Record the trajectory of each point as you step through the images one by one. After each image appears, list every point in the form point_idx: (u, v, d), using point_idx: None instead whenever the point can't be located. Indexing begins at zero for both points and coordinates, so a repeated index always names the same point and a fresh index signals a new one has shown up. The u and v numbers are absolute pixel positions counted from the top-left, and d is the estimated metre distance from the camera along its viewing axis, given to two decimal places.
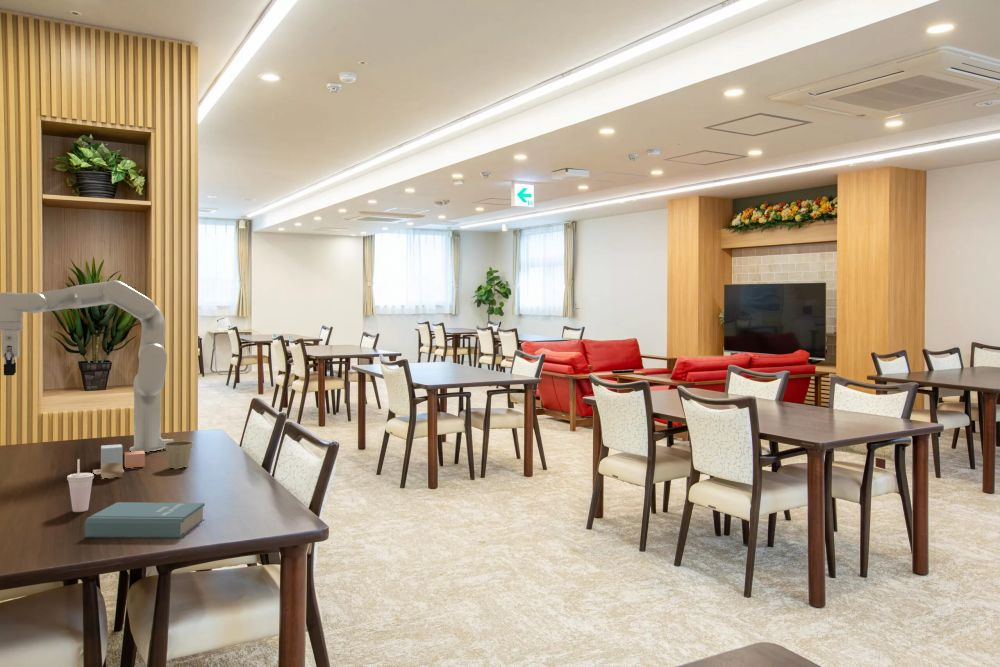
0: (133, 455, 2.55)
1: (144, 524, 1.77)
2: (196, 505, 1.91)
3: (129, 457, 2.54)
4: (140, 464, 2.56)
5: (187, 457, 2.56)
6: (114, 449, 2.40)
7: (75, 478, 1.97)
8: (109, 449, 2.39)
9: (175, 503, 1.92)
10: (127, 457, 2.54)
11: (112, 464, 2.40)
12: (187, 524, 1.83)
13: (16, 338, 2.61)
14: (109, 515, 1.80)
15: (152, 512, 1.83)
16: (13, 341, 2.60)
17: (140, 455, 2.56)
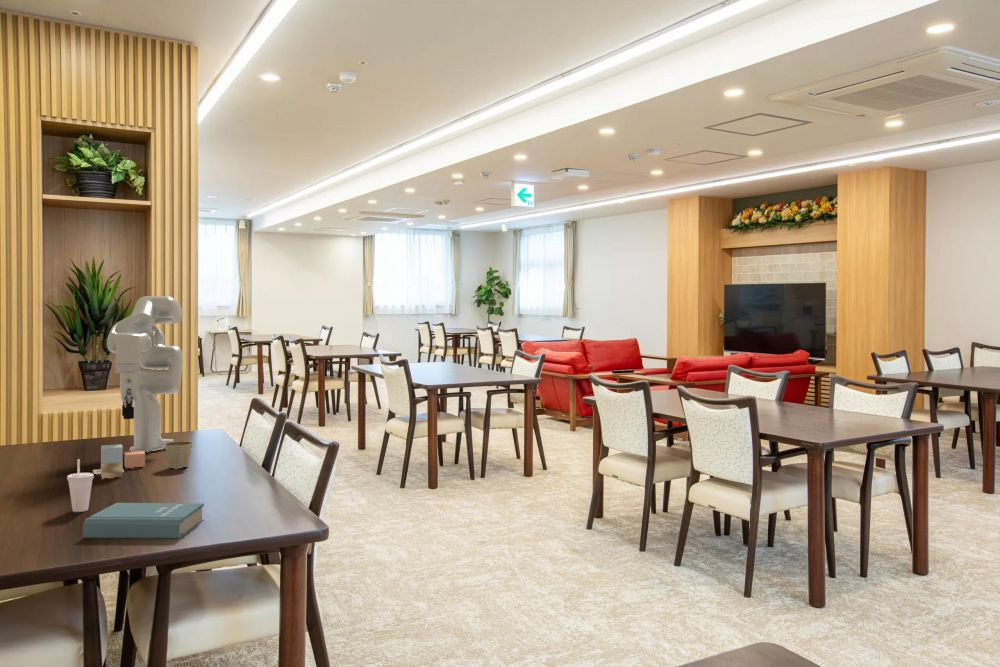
0: (133, 455, 2.55)
1: (143, 525, 1.76)
2: (195, 505, 1.90)
3: (129, 457, 2.54)
4: (140, 464, 2.56)
5: (187, 457, 2.56)
6: (114, 449, 2.40)
7: (75, 478, 1.97)
8: (109, 449, 2.39)
9: (174, 503, 1.92)
10: (127, 457, 2.54)
11: (112, 464, 2.40)
12: (187, 525, 1.82)
13: (135, 381, 2.54)
14: (108, 516, 1.79)
15: (151, 513, 1.83)
16: (133, 384, 2.54)
17: (140, 455, 2.56)
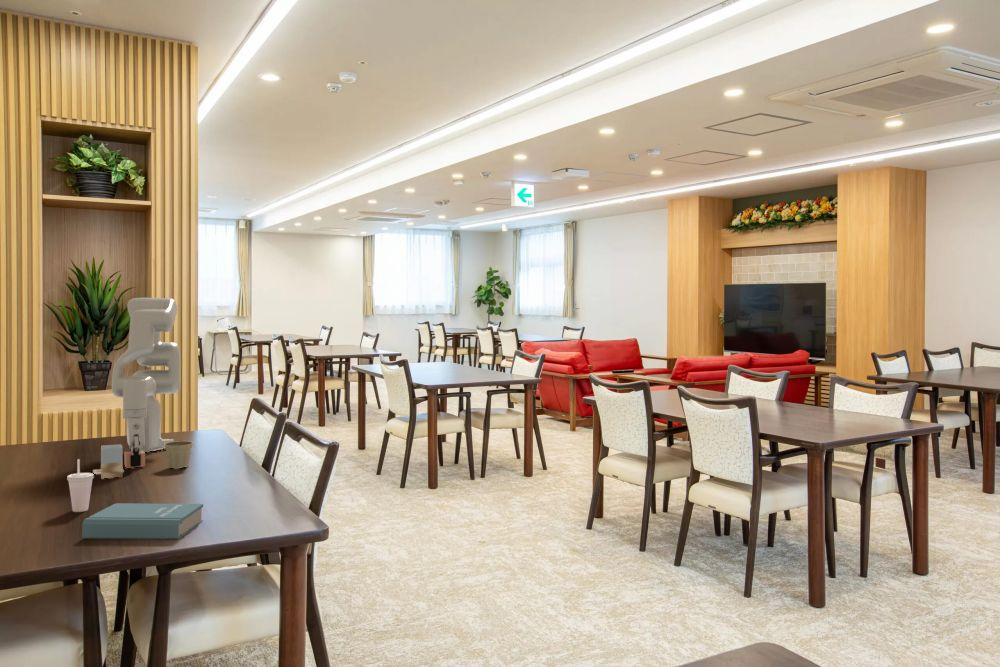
0: None
1: (142, 526, 1.76)
2: (195, 506, 1.89)
3: (129, 457, 2.54)
4: None
5: (187, 457, 2.56)
6: (114, 449, 2.40)
7: (75, 478, 1.97)
8: (109, 449, 2.39)
9: (174, 504, 1.91)
10: (127, 457, 2.54)
11: (112, 464, 2.40)
12: (186, 526, 1.82)
13: (143, 426, 2.55)
14: (107, 516, 1.79)
15: (150, 513, 1.82)
16: (140, 429, 2.54)
17: None
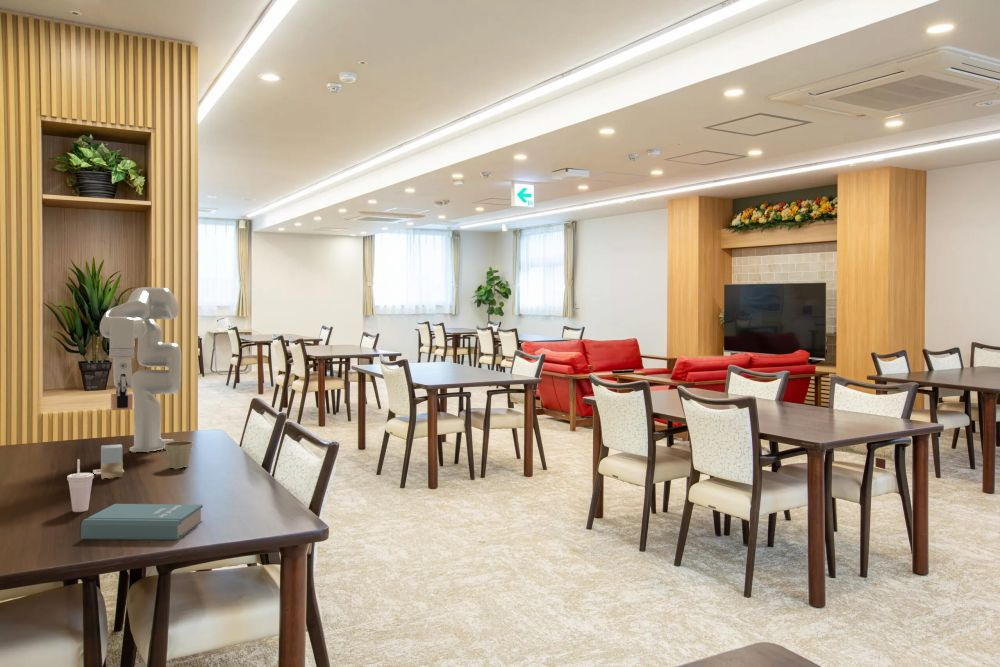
0: None
1: (141, 526, 1.75)
2: (194, 507, 1.89)
3: (115, 398, 2.44)
4: None
5: (187, 457, 2.56)
6: (114, 449, 2.40)
7: (75, 478, 1.97)
8: (109, 449, 2.39)
9: (173, 505, 1.91)
10: (114, 397, 2.44)
11: (112, 464, 2.40)
12: (185, 526, 1.81)
13: (130, 366, 2.45)
14: (106, 517, 1.78)
15: (149, 514, 1.82)
16: (127, 369, 2.44)
17: None
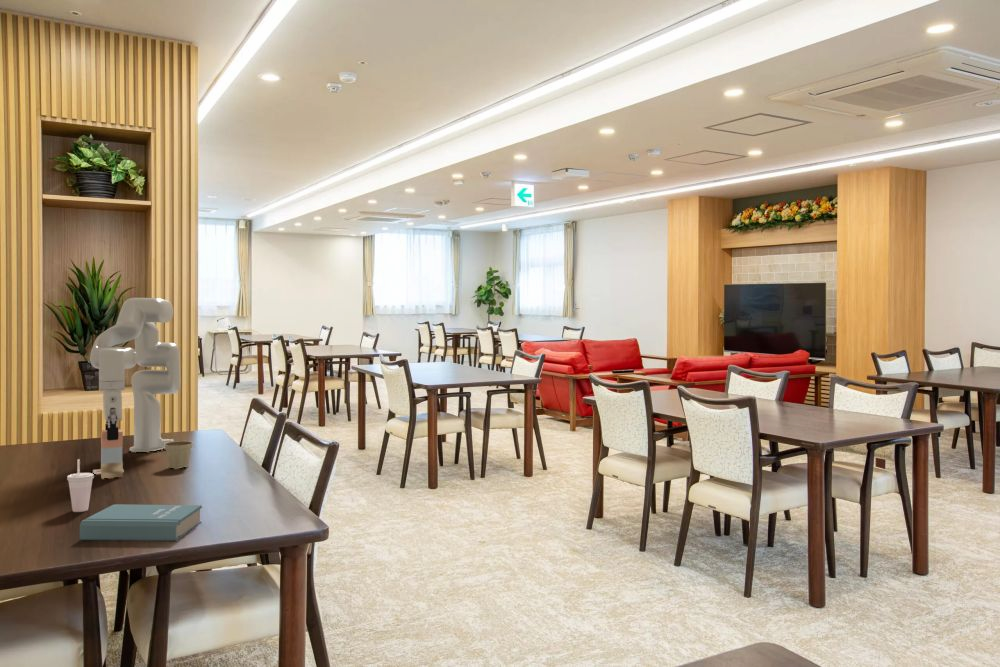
0: None
1: (139, 527, 1.75)
2: (193, 507, 1.88)
3: (105, 436, 2.38)
4: (117, 443, 2.40)
5: (187, 457, 2.56)
6: (114, 449, 2.40)
7: (75, 478, 1.97)
8: (109, 449, 2.39)
9: (172, 505, 1.90)
10: (103, 435, 2.38)
11: (112, 464, 2.40)
12: (184, 527, 1.80)
13: (120, 399, 2.39)
14: (105, 517, 1.78)
15: (148, 514, 1.81)
16: (117, 402, 2.38)
17: None
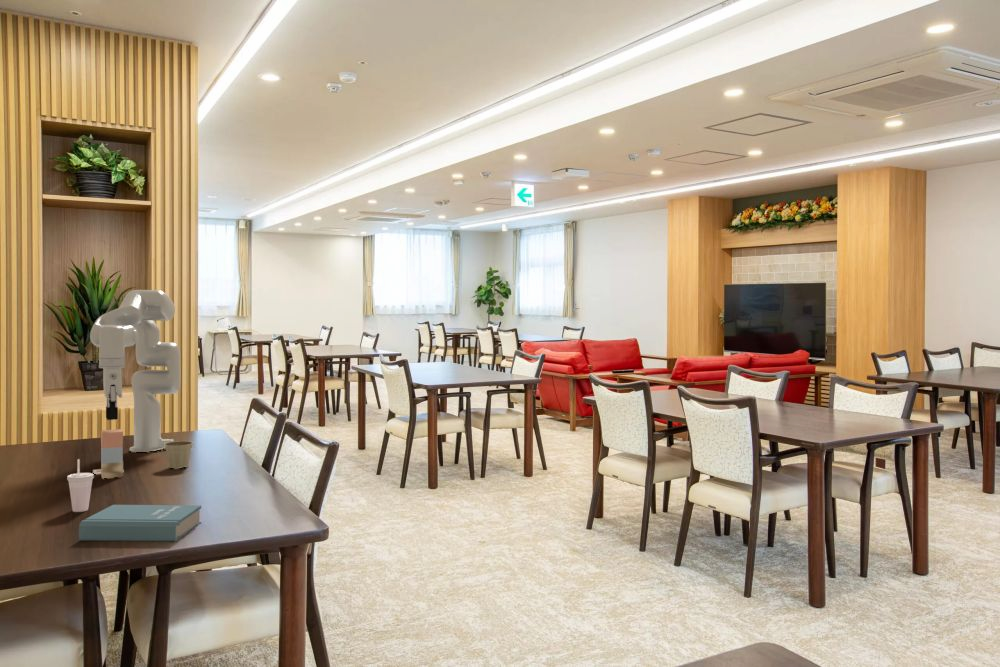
0: (110, 433, 2.39)
1: (139, 528, 1.74)
2: (192, 508, 1.88)
3: (105, 436, 2.38)
4: (117, 443, 2.40)
5: (187, 457, 2.56)
6: (114, 449, 2.40)
7: (75, 478, 1.97)
8: (109, 449, 2.39)
9: (171, 505, 1.89)
10: (103, 435, 2.38)
11: (112, 464, 2.40)
12: (183, 528, 1.80)
13: (120, 376, 2.39)
14: (104, 518, 1.77)
15: (147, 515, 1.81)
16: (117, 379, 2.38)
17: (117, 433, 2.40)
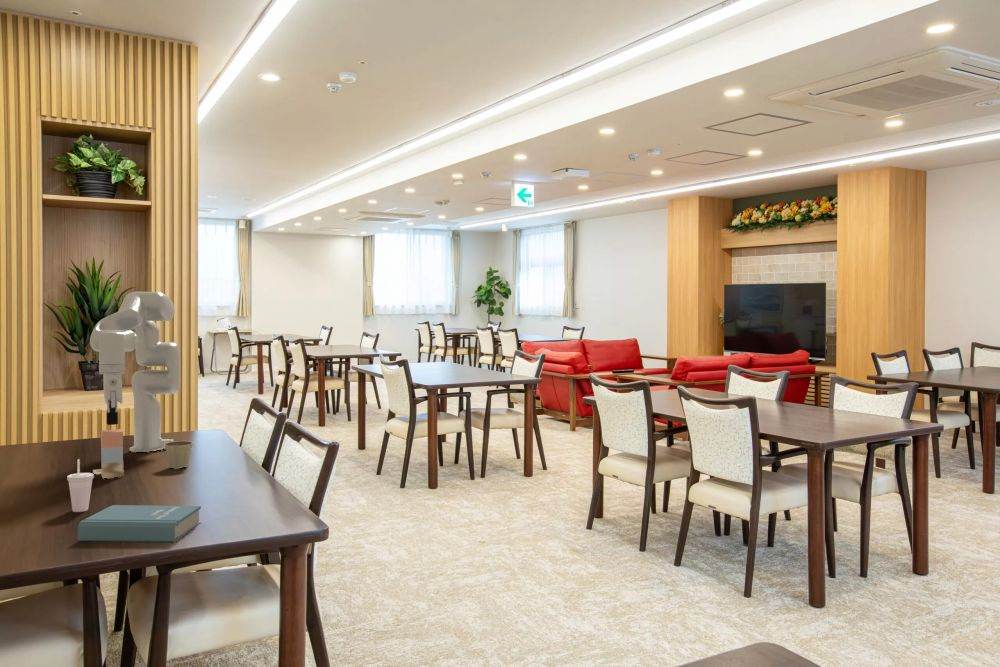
0: (110, 433, 2.39)
1: (138, 528, 1.74)
2: (192, 508, 1.87)
3: (105, 436, 2.38)
4: (117, 443, 2.40)
5: (187, 457, 2.56)
6: (114, 449, 2.40)
7: (75, 478, 1.97)
8: (109, 449, 2.39)
9: (171, 506, 1.89)
10: (103, 435, 2.38)
11: (113, 464, 2.40)
12: (182, 528, 1.80)
13: (120, 382, 2.39)
14: (103, 518, 1.77)
15: (147, 515, 1.80)
16: (117, 385, 2.38)
17: (117, 433, 2.40)
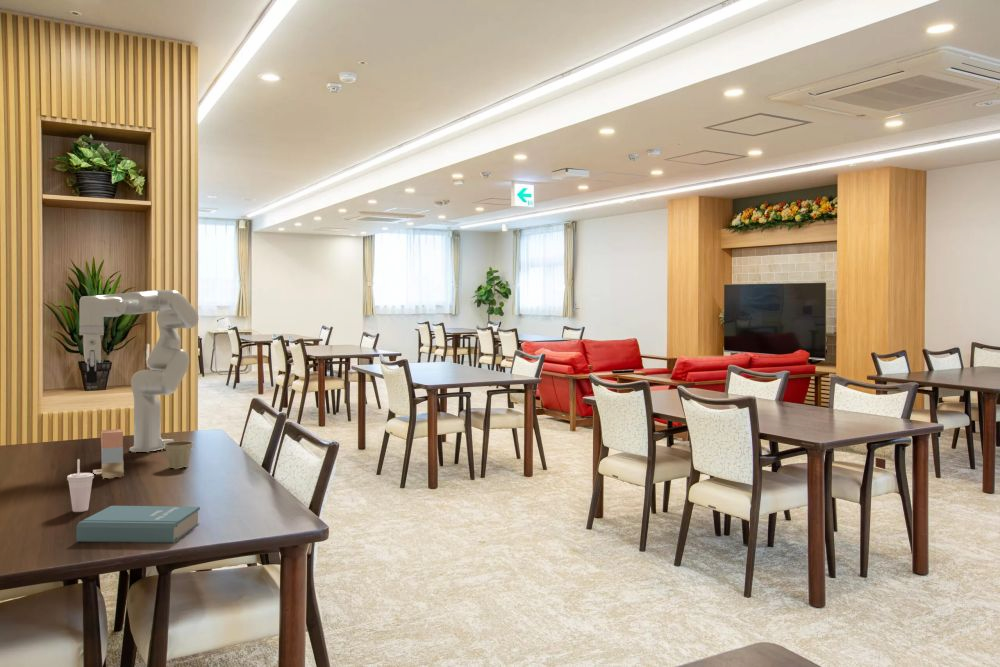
0: (110, 433, 2.39)
1: (137, 529, 1.73)
2: (191, 509, 1.87)
3: (105, 436, 2.38)
4: (117, 443, 2.40)
5: (187, 457, 2.56)
6: (114, 449, 2.40)
7: (75, 478, 1.97)
8: (109, 449, 2.39)
9: (170, 507, 1.88)
10: (103, 435, 2.38)
11: (113, 464, 2.40)
12: (181, 529, 1.79)
13: (99, 342, 2.57)
14: (102, 519, 1.76)
15: (146, 516, 1.80)
16: (96, 345, 2.56)
17: (117, 433, 2.40)
